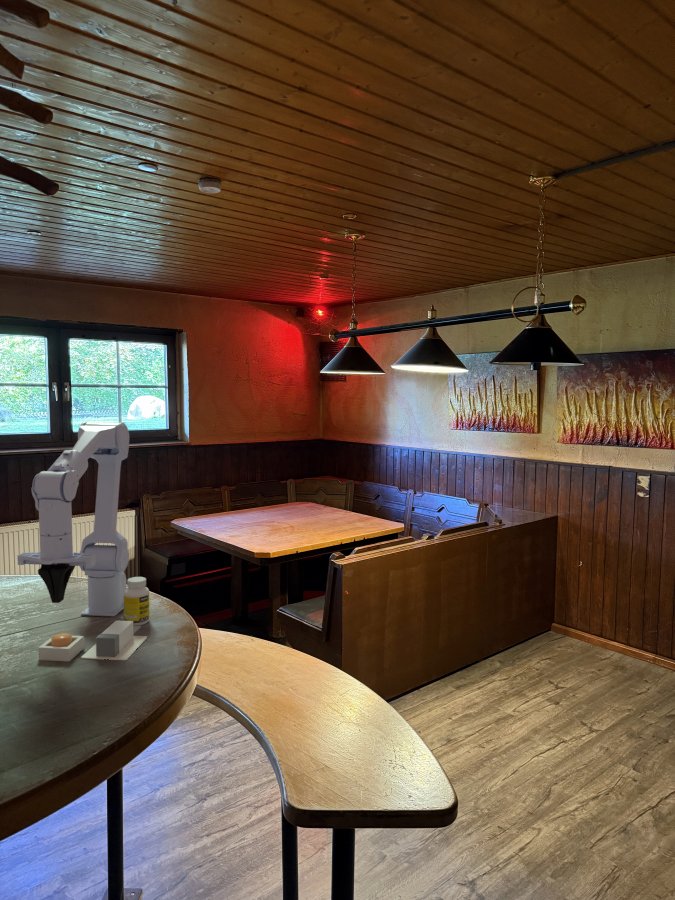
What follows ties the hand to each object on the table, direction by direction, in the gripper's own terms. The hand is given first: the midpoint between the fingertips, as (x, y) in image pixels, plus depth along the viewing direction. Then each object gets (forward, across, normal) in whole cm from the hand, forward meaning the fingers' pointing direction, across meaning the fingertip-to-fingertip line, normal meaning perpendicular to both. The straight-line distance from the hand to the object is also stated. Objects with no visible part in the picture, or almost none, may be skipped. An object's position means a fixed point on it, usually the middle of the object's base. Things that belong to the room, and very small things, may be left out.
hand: (57, 601), depth 118 cm
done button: (+10, +1, -1) cm, 10 cm away
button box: (+10, +1, -1) cm, 10 cm away
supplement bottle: (+11, +9, +17) cm, 22 cm away
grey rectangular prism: (+10, +10, +3) cm, 15 cm away
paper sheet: (+10, +10, +3) cm, 15 cm away
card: (+10, +8, +12) cm, 18 cm away
